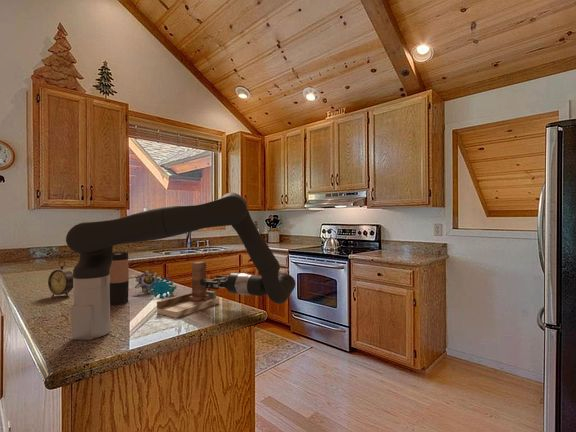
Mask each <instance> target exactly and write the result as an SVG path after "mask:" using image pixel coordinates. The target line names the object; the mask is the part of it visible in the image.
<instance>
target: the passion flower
mask: <svg viewBox="0 0 576 432" xmlns="http://www.w3.org/2000/svg"><path fill="white" fill-rule="evenodd" d="M157 275H158V273H157V272H154V273H151V272H150V271H149V270H148V269H146V270H145V271H144V273H141V274H137V276H135V281H136V282H137V284H136V285H135V286H134V288H135V289H139V288H141V291H142V293H145V292H147V294H148V295H149V294H151V290H152V289H150V286H151V285H152V284H151V283H152V282H153V281H154V282H155V284H157V282H156V279H159V281H158V282H161V278H162V277H161V276H157ZM152 286H153V287H155V286H154V285H152Z"/></svg>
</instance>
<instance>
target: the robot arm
mask: <svg viewBox="0 0 576 432" xmlns="http://www.w3.org/2000/svg"><path fill="white" fill-rule="evenodd" d="M247 205H248V204H247V202H246V200H245V198H244V197H243V196H242V195H240V193H236V192H227V193H225V194H224V195H222V196H221V197H220V198H218V199H213V200H212V201H211V200H210V201H208V202H204V203H200V204H187V205H183V204H182V205H181V204H180V205H169V206H163V207H158V208H152V209H148V210H144V211H140V212H137V213H132V214H129V215H126V216H123V217H119V218H115V219H109V220H108V219H107V220H101V221H99V220H98V221H86V222H85V221H84V222H80V223H78V224H75V225H73V226H72V227H71V228H70V229H69V230H68V232H67V234H66V236H65V243H66V245H67V247H68V248H69V249H70V250H71V251H73V252H75V253H78V254H79V260H78V262H77V264H76V265H75V266H74V268H73V269H72V273H73V289H72V292H73V293H72V296H73V297H72V298H73V305H71V307H70V332H71V333H70V334H71V335H70V338H71V340H81V341H82V340H84V341H85V340H87V341H88V340H89V341H90V340H94V339H97V338H100V337H103V336H106V335H107V334H109V333H110V332H111V305H110V267H111V264H112V253H113V247H115V246H119V245H123V244H131V243H142V242H150V241H156V240H163V239H168V238H172V237H176V236H179V235H184V234H187V233H188V234H189V233H192V232H195V231H199V230H203V229H208V228H216V227H226V226H227V227H228V226H229V227H230V226H231V227H232V229H234V231H236V234H237V235H238V237H239V238H240V240H241V242H242V244H243V246H244V248H245V250H246V253H247V254H248V257H249V258H250V259H251V262H252V263H253V265H254V267H255V268H256V270H257V272H258V273H259V274H260V275H259V274H252V273H244V272H231V273H230V274H225V275H220V274H218V275H216V276H215V278H213V279H207V278H206V279H201V280H200V285H203V286H205V288H206V289H211V290H219V289H226V290H227V292H229V293H230V294H236V295H241V296H242V295H243V296H257V297H265V296H266V295H267V296H268V298H269V299H270V301H271V302H273V303H274V304H277V305H281V304H284V303H285V302H286V301H288V299H289V298H290V296H291V294H292V293H293V291H294V290H295V288H296V280H295V278H294V277H293V276H292V275H291V274H288V273H285V272H280V269H281V265H280V263H279V261H278V259H277V258H276V256H275V255H274V253H273V252H272V250H271V248H270V247H269V246H268V244H267V242H266V241H265V239H264V237H263V236H262V235H261V233H260V232H259V230H258V228H257V226H256V224H255V223H254V221H253V219H252V217H251V214H250V212H249V209H248V206H247Z"/></svg>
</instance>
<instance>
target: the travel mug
mask: <svg viewBox="0 0 576 432" xmlns="http://www.w3.org/2000/svg"><path fill="white" fill-rule="evenodd" d="M129 270H130V269H129V252H123V251H121V252H120V251H119V252H112V264H111V267H110V306H111V305H112V306H115V305H116V306H118V305H123V304H127V303H128V302H129V286H130V285H129V283H130V278H129V277H130V276H129V275H130V274H129V272H130V271H129Z"/></svg>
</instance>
